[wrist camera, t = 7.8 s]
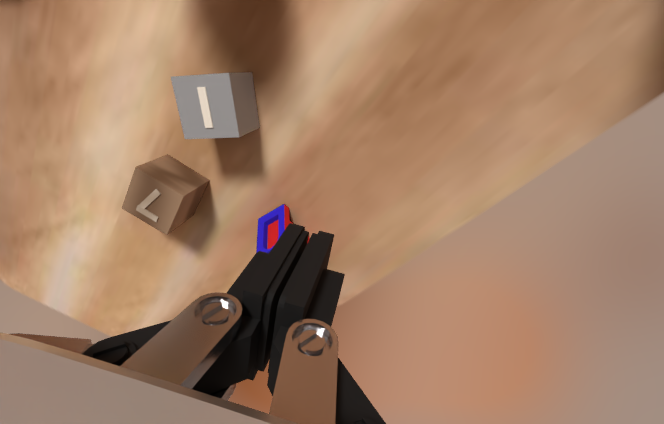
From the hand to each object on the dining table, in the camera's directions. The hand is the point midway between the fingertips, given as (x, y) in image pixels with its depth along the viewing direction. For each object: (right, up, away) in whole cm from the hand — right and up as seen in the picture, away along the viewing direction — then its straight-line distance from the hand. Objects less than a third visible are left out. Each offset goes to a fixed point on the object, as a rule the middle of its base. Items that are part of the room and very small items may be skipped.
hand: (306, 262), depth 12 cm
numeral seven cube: (-15, +5, +24) cm, 29 cm away
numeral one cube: (-9, +12, +20) cm, 25 cm away
